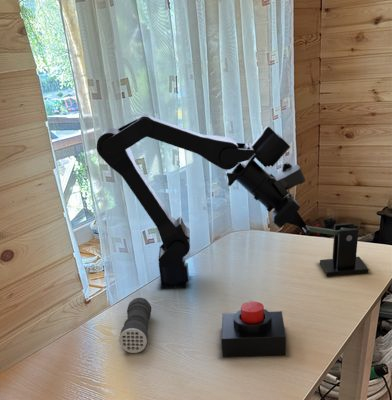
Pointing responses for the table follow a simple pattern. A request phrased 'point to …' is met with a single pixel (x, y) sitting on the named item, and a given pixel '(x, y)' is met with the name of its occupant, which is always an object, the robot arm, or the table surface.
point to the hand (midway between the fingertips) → (304, 225)
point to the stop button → (252, 312)
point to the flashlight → (135, 326)
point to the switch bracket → (344, 254)
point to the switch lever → (321, 230)
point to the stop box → (253, 336)
